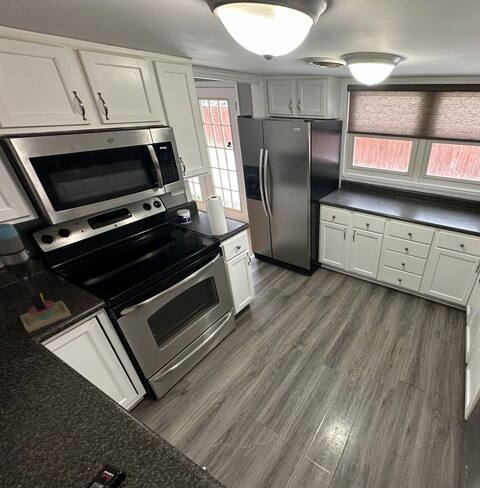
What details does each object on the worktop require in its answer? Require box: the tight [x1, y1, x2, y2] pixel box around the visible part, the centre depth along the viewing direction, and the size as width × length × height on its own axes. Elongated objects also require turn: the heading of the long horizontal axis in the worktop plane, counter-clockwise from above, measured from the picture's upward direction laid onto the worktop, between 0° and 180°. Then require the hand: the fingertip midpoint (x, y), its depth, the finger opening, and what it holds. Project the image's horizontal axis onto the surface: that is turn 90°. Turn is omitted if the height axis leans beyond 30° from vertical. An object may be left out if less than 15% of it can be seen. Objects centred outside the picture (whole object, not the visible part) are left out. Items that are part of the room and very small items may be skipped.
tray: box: [19, 300, 72, 334], centre depth 119 cm, size 13×14×2 cm
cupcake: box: [28, 291, 56, 320], centre depth 116 cm, size 9×8×12 cm
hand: (38, 303), depth 116 cm, fingers open, 13 cm apart
